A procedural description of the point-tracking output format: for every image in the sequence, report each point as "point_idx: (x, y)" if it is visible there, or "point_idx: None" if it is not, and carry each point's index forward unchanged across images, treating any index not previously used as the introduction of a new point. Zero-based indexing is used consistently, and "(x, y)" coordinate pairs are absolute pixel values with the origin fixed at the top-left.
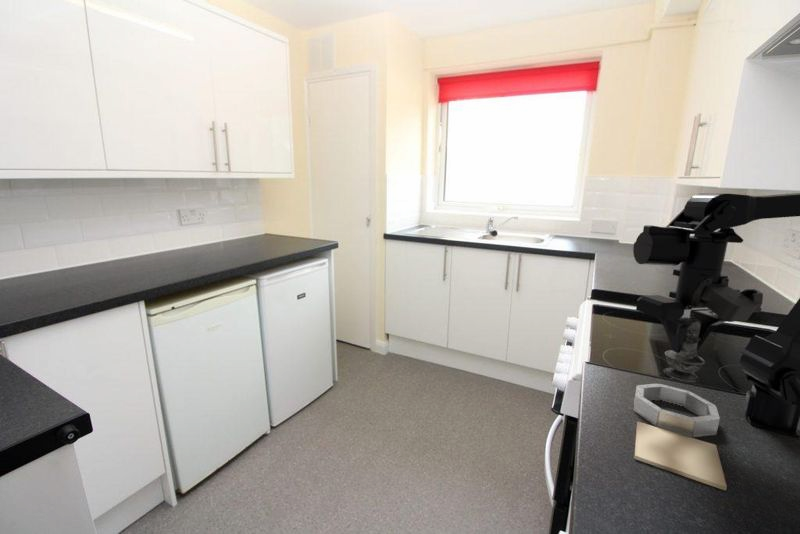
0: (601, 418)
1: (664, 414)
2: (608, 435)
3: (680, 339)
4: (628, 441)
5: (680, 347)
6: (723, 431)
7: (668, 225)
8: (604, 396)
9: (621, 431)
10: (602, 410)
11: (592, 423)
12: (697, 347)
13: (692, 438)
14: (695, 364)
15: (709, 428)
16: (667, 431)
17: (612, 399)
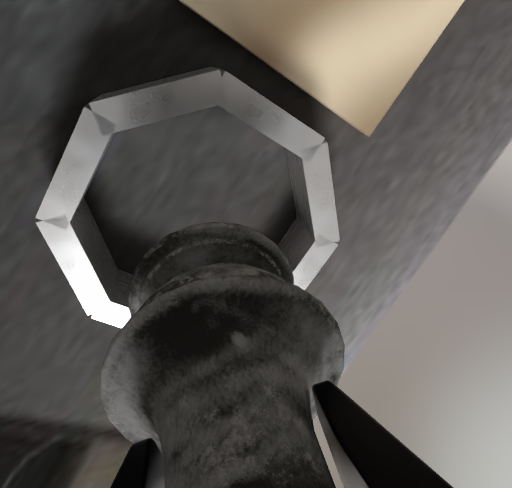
0: (453, 157)
1: (309, 128)
2: (500, 57)
3: (428, 485)
4: (462, 24)
5: (343, 415)
6: (53, 121)
7: None
8: (358, 286)
9: (442, 85)
10: (418, 204)
11: (500, 124)
12: (143, 472)
13: (235, 36)
14: (233, 275)
15: (138, 87)
16: (305, 77)
17: (344, 273)
